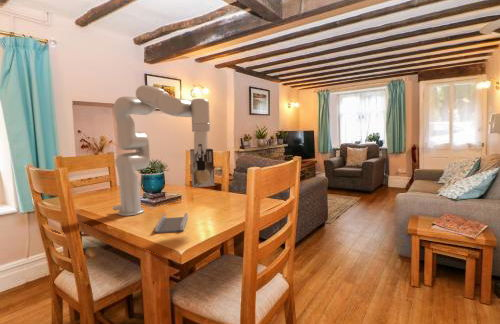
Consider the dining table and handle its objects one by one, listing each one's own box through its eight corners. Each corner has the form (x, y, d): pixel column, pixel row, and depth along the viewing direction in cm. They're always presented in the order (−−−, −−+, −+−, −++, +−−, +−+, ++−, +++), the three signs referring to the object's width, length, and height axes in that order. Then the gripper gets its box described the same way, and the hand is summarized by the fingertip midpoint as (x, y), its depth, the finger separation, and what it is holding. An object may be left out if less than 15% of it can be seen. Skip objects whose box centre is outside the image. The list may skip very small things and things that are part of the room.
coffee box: (211, 183, 126) (210, 148, 124) (214, 185, 120) (213, 149, 118) (191, 185, 123) (189, 149, 121) (193, 187, 117) (192, 149, 115)
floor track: (155, 233, 115) (155, 227, 115) (163, 219, 133) (163, 214, 132) (183, 231, 116) (183, 225, 116) (187, 218, 134) (187, 213, 134)
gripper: (194, 128, 127) (196, 166, 129) (188, 128, 110) (190, 172, 112) (211, 128, 128) (212, 166, 130) (207, 127, 110) (209, 171, 112)
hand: (202, 168), depth 121 cm, fingers closed on coffee box, 7 cm apart
